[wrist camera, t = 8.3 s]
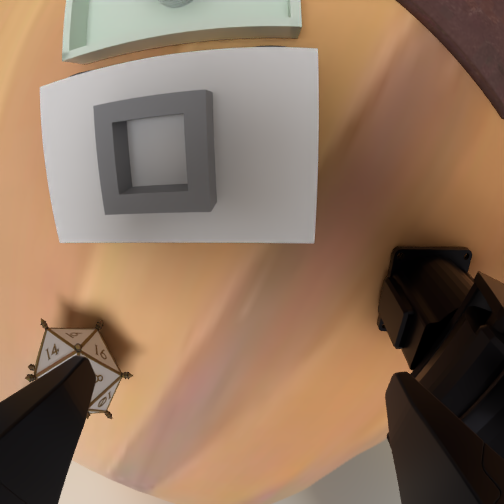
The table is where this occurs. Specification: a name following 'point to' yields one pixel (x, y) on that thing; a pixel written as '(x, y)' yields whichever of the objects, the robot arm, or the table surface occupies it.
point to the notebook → (469, 38)
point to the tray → (169, 24)
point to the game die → (84, 344)
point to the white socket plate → (186, 148)
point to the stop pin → (175, 3)
